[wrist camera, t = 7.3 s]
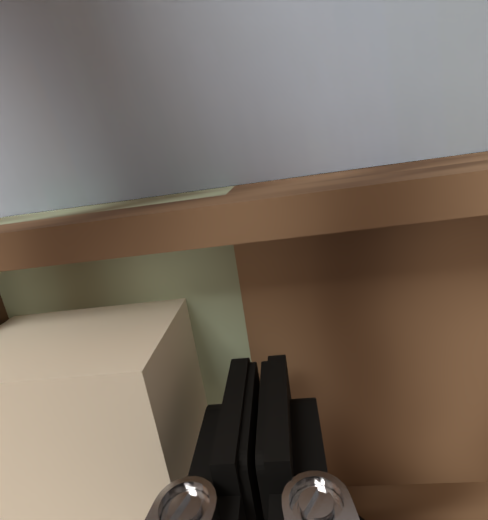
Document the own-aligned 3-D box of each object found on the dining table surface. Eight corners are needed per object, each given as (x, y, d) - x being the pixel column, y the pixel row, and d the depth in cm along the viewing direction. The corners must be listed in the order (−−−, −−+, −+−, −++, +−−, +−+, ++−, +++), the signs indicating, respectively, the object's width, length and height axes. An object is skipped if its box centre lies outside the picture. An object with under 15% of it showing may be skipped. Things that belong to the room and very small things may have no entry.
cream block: (185, 298, 12) (141, 371, 8) (216, 449, 13) (193, 570, 10) (14, 316, 12) (-102, 391, 9) (64, 457, 14) (-14, 572, 10)
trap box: (797, 109, 11) (1131, 85, 7) (709, 437, 14) (893, 561, 10) (3, 217, 14) (-115, 248, 10) (85, 465, 18) (24, 568, 13)
